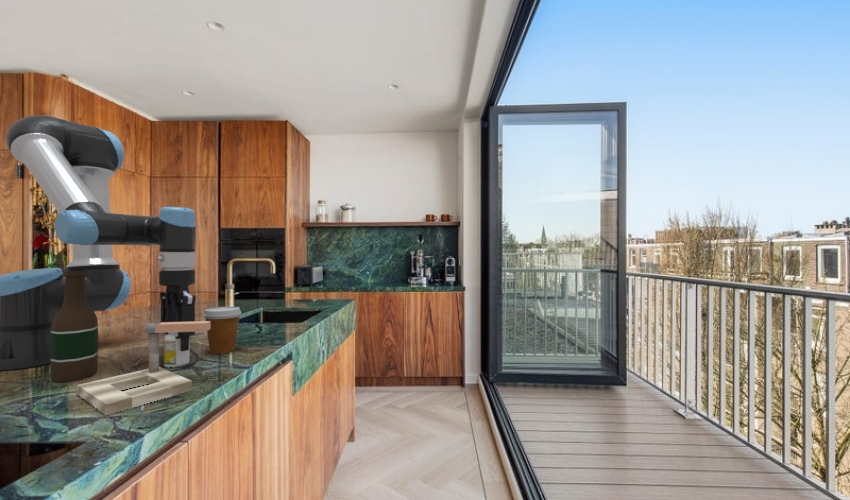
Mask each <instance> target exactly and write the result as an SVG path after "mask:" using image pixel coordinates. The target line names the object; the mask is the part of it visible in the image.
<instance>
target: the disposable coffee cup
mask: <svg viewBox="0 0 850 500" xmlns="http://www.w3.org/2000/svg"><path fill="white" fill-rule="evenodd" d="M241 314H242V311H241V309H240V307H239V306H218V307H217V306H216V307H215V306H214V307H209V308H206V309H205V311H204V313H203V317H204V320H205V321H211V329H209V330H208V331H206V334H207V340H208V341H207V342H208V348H209V353H210V354H214V355H217V354H220V355H221V354H229V353H231V352H234V351H235V350H236V343H237V336H238V330H239V324H240V316H241Z"/></svg>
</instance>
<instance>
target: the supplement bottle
mask: <svg viewBox="0 0 850 500" xmlns="http://www.w3.org/2000/svg"><path fill="white" fill-rule="evenodd" d="M168 333H169V335H167V336H166V337H165V336H164V339H163V341H164V342H163V350H164V351H163V366H164V367H165V368H170V367H172V368H179V367H180V368H181V367H184V366H186V365H188V364H189V363H185V364H181V365H176V339H175V337H176V336H178V332H168ZM189 350H190V348H189Z"/></svg>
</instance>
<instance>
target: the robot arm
mask: <svg viewBox="0 0 850 500" xmlns="http://www.w3.org/2000/svg"><path fill="white" fill-rule="evenodd" d="M5 142H6V146H7V148H8V150H9V152H10V153H11V155H12V156H13V158H14V159H16V160H17V161H18V162H19V163H21V164H24V165H25V166H26V168H27V169H28V171H29V172H30V174H31V176H32V177H33V178H34V180H35V181H36V182H37V184H38V185H39V187H40V188H41V190H42V191H43V192H44V194H45V197H47V198H48V200H49V202H50V203H51V205H52V206H53V207H54V209H55V210H56V211H57V215H56V217H55V219H54V220H55V221H54V224H53V225H54V227H53V228H54V230H55V236H56V238H57V239H58V240H59V241H60V242H62V243H64V244H68V245H69V244H70V245H72V246H71V247H72V248H71V249H72V260H71V261H70V262H69V263H68V264H67V265H65V272H66V271H86V274H87V275H86V276H85V283H86V296H87V302H88V306H89V307H90V308H91V309H92V310H93V311H94V312H95V313H96V312H105V311H108V310H113V309H117V308H120V307H121V306H122V305H123V304H125V302H126V300H128V298H129V295H130V291H131V281H132V280H131V278H130V276H129V274H128V272H127V271H125V270H123V269H121V266H120V263H119V262H118V261H117V260H115V259H114V258H113V245H116V246H142V247H143V246H147V247H148V246H149V247H150V246H159V251H158V252H159V255H158V256H157V257H156V258H157V260H158V261H159V268H160V269H162V270H160V271H159V272H158V284H159V285H160V286H164V287H166V288H165V291H161V292H160V293H159V296H160V322H195V320H196V319H195V318H196V315H195V314H196V312H195V311H196V310H195V309H196V307H195V305H196V299H197V298H196V297H197V296H196V294H190V289H189V287H190V285H191V286H192V285H194V284H195V283H196V271H195V268H196V232H197V231H196V230H197V229H196V228H197V222H196V212H195V210H194V209H192V208H190V207H189V208H188V207H180V206H163V207H161V208H160V209H159V215H158V216H155V215H154V216H151V215H148V216H147V215H135V214H122V213H113V212H112V213H111V200H110V179H111V178H112V177H114V175H116V171H118V170H120V168H121V167H122V166H123V161H124V159H125V151H124V147H123V144H122V142H121V140H120V139H119V137H117V135H115V134H114V133H113V132H111V131H109V130H105V129H101V128H100V127H98V126H92V125H88V124H87V125H86V124H82V123H79V122H75V121H71V120H67V119H63V118H58V117H56V116H51V115H47V114H46V115H44V114H38V115H37V114H36V115H35V114H34V115H28V116H25V117H21V118H20V119H17V120H16V121H14V122H13V123H12V124H11V125H10V126H9V128H8V129H7V132H6V135H5ZM65 272H63V270H62V268H60V267H45V268H34V269H26V270H25V269H24V270H18V271H17V270H16V271H12V272H7V273H4V274H1V275H0V371H9V370H10V371H11V370H19V369H27V368H33V367H39V366H42V365H48V364H51V325H52V321H53V319H54V317H55V315H56V314H57V313H58V312H59V310H60V309H61V308H62V305H63V301H64V291H65V280H66V277H65V276H64V274H65ZM163 334H164V338H165V337H166V336H167V335H169V333H168V332H166V333H163ZM194 335H196V332H178V336H176V337H175V339H176V365H181V364H185V363H188V364H189V363H190V349H189V348H190V347H191V346H190V341H191V339H190V337H192V336H194Z"/></svg>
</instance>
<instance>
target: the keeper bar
mask: <svg viewBox="0 0 850 500" xmlns="http://www.w3.org/2000/svg"><path fill="white" fill-rule="evenodd" d="M145 327H146V328H145V333H146V334H149V333H159V334H160V333H161V334H162V333H163V334H164V333H166V332H195V333H196V332H207V331H208V330H209V329H211V321H206V320H205V321H203V320H201V321H200V320H199V321H198V320H197V321H195V322H161V321H160V322H157V321H156V322H149V323H146V325H145Z"/></svg>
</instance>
